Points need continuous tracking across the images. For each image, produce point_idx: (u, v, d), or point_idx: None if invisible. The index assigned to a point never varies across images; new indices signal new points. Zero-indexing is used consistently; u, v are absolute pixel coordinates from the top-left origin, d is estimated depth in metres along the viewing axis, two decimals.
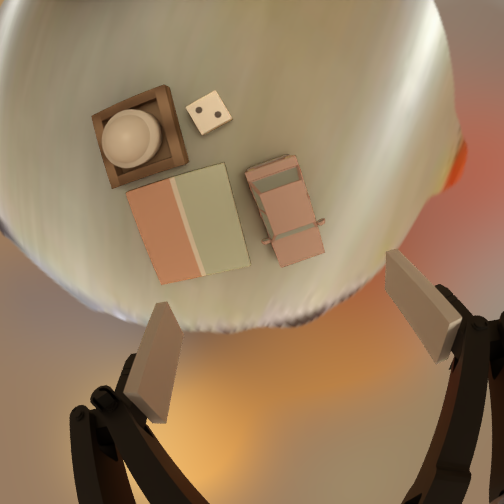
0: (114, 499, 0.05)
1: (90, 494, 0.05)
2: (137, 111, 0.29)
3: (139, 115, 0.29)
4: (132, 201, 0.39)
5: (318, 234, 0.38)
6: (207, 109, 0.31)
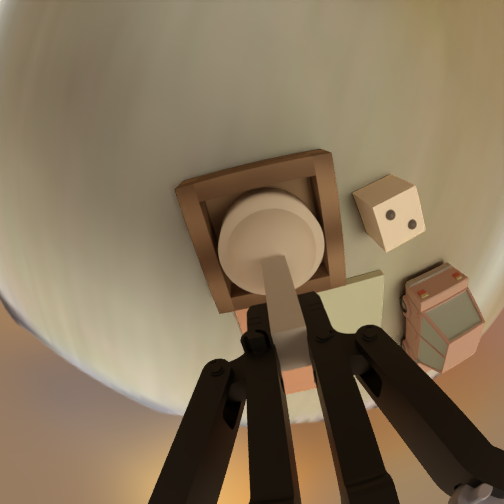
0: (207, 473, 0.07)
1: (184, 463, 0.06)
2: (296, 205, 0.19)
3: (299, 213, 0.19)
4: (244, 320, 0.28)
5: None
6: (401, 215, 0.20)
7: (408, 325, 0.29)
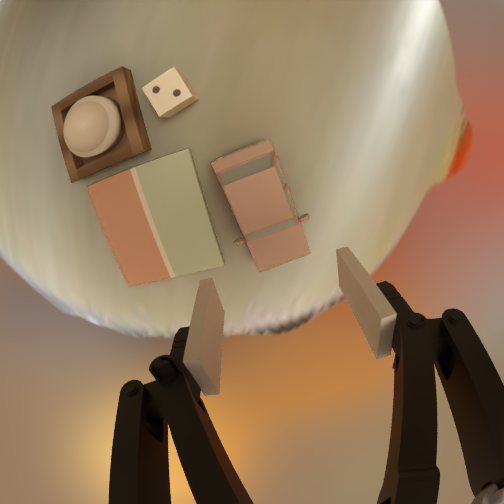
0: (149, 483, 0.06)
1: (125, 476, 0.06)
2: (96, 97, 0.25)
3: (98, 101, 0.25)
4: (93, 195, 0.33)
5: (301, 232, 0.33)
6: (165, 88, 0.25)
7: None
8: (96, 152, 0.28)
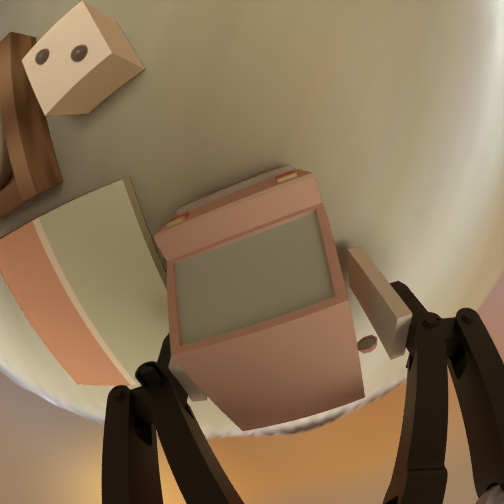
0: (140, 486, 0.06)
1: (116, 480, 0.06)
2: None
3: None
4: None
5: None
6: (59, 49, 0.07)
7: None
8: None
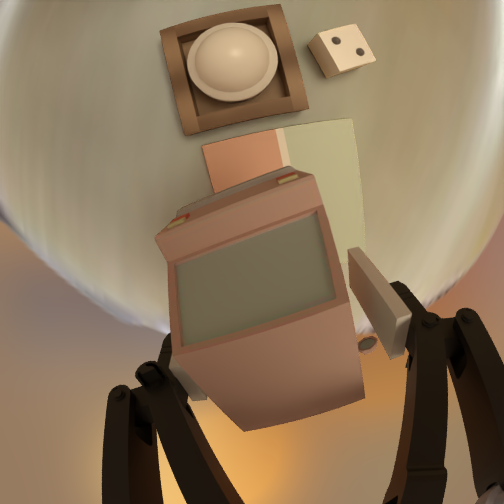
0: (141, 486, 0.06)
1: (117, 480, 0.06)
2: (250, 26, 0.18)
3: (253, 32, 0.18)
4: (211, 159, 0.27)
5: None
6: (347, 43, 0.18)
7: None
8: (245, 95, 0.21)
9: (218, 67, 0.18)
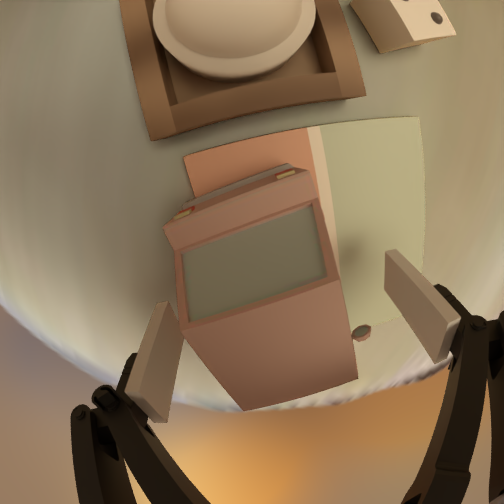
0: (115, 499, 0.05)
1: (91, 494, 0.05)
2: None
3: None
4: (199, 178, 0.16)
5: None
6: (417, 1, 0.08)
7: None
8: (258, 64, 0.10)
9: (206, 6, 0.07)
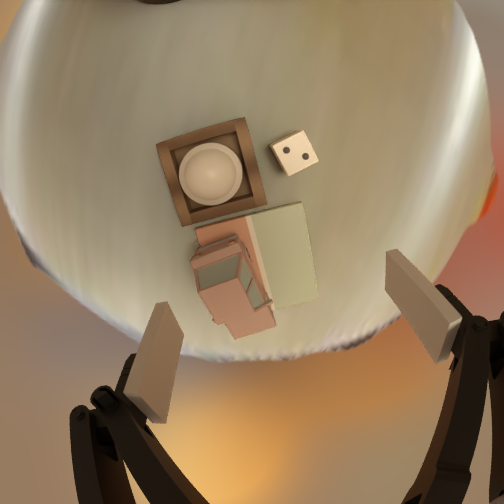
0: (114, 499, 0.05)
1: (90, 494, 0.05)
2: (221, 146, 0.31)
3: (224, 150, 0.32)
4: (202, 238, 0.40)
5: (268, 311, 0.40)
6: (295, 150, 0.32)
7: None
8: (220, 201, 0.34)
9: (200, 190, 0.31)
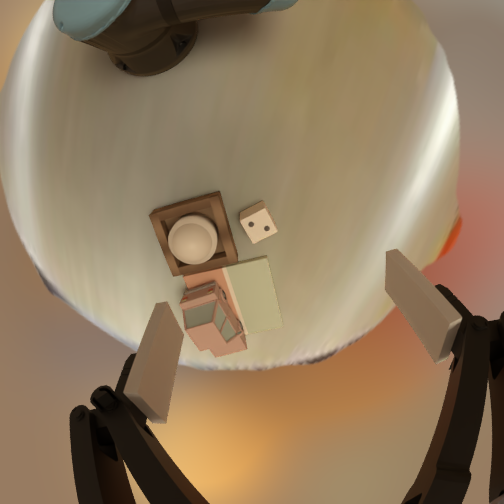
0: (114, 499, 0.05)
1: (90, 494, 0.05)
2: (200, 221, 0.42)
3: (202, 225, 0.42)
4: (188, 283, 0.51)
5: (239, 339, 0.51)
6: (258, 224, 0.42)
7: None
8: (201, 262, 0.45)
9: (184, 257, 0.42)
